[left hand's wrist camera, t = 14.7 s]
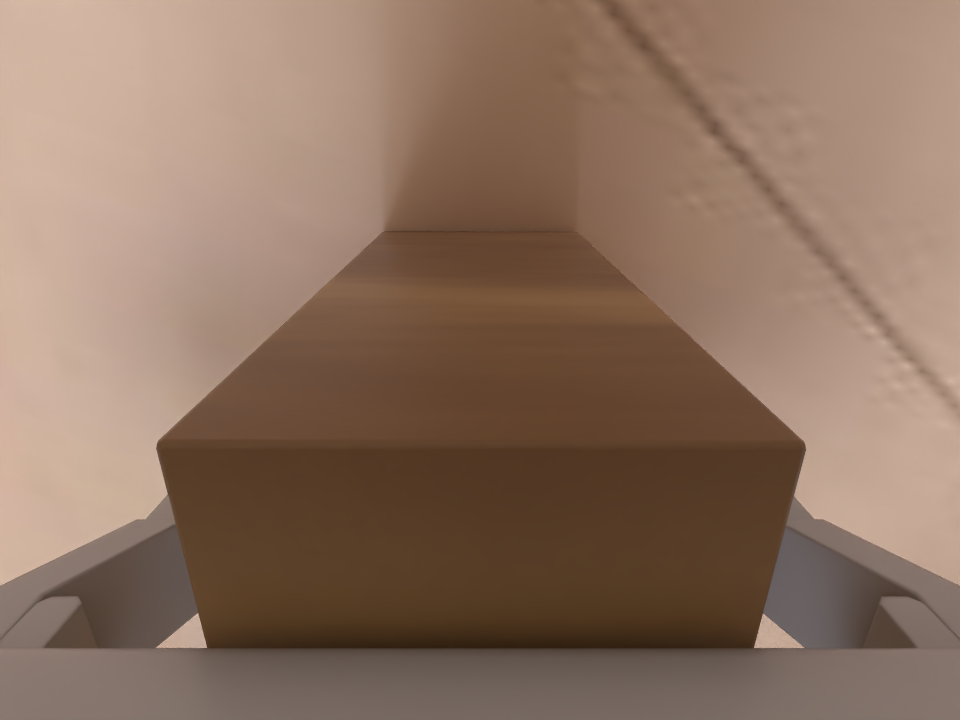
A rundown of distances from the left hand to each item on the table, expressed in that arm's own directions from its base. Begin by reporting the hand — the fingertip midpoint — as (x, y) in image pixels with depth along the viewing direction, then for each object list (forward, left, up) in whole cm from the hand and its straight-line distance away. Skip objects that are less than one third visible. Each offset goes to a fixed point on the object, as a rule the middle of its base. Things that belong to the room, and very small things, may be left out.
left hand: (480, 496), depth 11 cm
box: (+9, 0, -8) cm, 13 cm away
